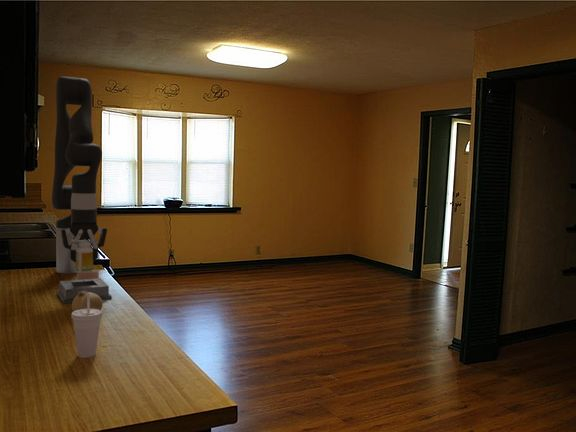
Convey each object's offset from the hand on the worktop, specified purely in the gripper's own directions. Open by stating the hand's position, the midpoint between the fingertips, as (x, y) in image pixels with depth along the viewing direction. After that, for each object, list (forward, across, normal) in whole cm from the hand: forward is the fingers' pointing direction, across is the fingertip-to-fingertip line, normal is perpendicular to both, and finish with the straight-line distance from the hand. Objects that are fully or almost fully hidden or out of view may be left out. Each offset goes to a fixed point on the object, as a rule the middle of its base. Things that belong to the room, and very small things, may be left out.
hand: (83, 260), depth 166 cm
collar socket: (+11, 0, 0) cm, 11 cm away
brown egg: (+11, -4, -15) cm, 19 cm away
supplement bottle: (+4, 0, 0) cm, 4 cm away
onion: (+12, +3, +22) cm, 25 cm away
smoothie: (+12, +9, +54) cm, 56 cm away
